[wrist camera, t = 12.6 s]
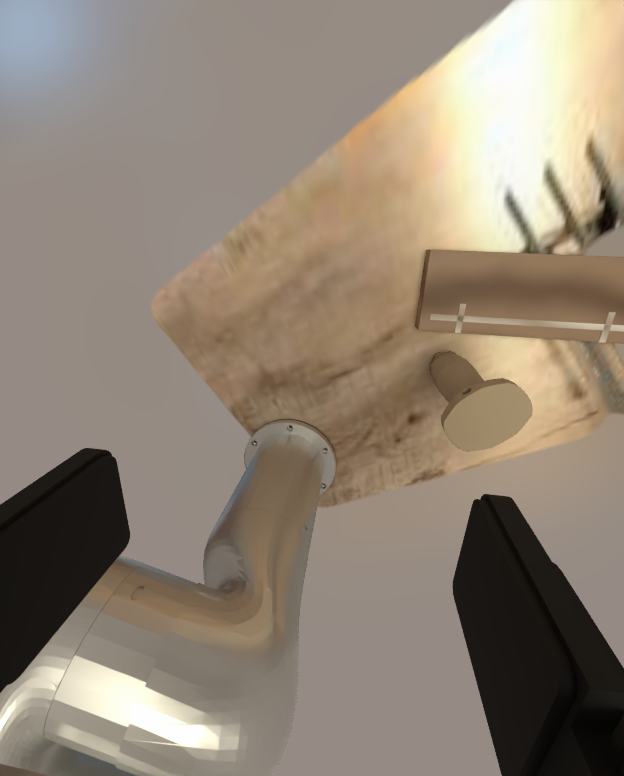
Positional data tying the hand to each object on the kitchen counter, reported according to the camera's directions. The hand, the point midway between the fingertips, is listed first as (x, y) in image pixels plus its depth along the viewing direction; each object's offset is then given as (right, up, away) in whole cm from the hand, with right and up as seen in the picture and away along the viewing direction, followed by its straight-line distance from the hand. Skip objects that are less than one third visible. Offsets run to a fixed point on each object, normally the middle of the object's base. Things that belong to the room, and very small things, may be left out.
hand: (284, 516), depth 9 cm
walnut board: (+23, +13, +28) cm, 38 cm away
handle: (+16, +6, +31) cm, 36 cm away
